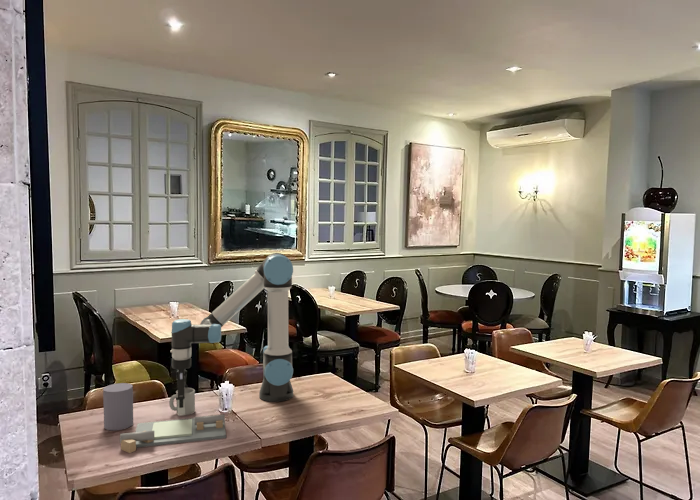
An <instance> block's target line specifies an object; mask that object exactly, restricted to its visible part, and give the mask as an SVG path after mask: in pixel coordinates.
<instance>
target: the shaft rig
mask: <svg viewBox="0 0 700 500" xmlns="http://www.w3.org/2000/svg"><path fill="white" fill-rule="evenodd" d="M225 417H226V415H225V414H216V415H215V414H214V415H203V416H194V417H190V418H180V419H172V420H171V419H170V420H169V419H168V420H159V421H157V420H156V421H149V422H139V423H137V425H136V428H135V432H126V433H125V432H124V433H120V434H119V443H120V450H121V451H124V452H126V453H128V454H131V453H134V452H136V451H137V448H144V447H152V446H161V445H164V446H165V445H172V444H181V443H190V442H192V443H193V442H201V441H210V440H212V441H213V440H220V439H227V434H226V433H227V432H226V426H225V424H226V421H225V420H226V418H225Z"/></svg>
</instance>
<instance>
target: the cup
mask: <svg viewBox="0 0 700 500" xmlns="http://www.w3.org/2000/svg"><path fill="white" fill-rule="evenodd" d="M175 393H176V394H173V395H171V396H170V398H169V401H168V403H169V405H168V406H169V408H170V410H172V411H174V412H175V411H176V414H177V415H178V400H176V398H177V397H178V389H177V390H176V391H175ZM195 393H196V390H195V389H194V388H192V387H185V394H184V397H185V415H184V416H189V415H192V414H194V413H195V411H196V402H195V401H196V399H195V398H196V394H195ZM174 401H176V402H175V403H176V406H175V405H174Z"/></svg>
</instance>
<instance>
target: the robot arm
mask: <svg viewBox="0 0 700 500" xmlns="http://www.w3.org/2000/svg"><path fill="white" fill-rule="evenodd" d="M293 273H294V265H293V263H292V261H291V259H290V258H289V257H287V255H285V254H283V253H280V252H273V253H271V254H269V255H267V256H266V258H265V259H264V260H263V261H262V262H261V264H259V266H258V267H257V268H256V269H255V270H254V274H252V276H250V277H249V278H248V279H246V281H245V282H243V284H241V285H240V286H238V287H237V289H236V290H235V291H234V292H232V293H231V295H229V296H228V297H227V298H226V299H225V300H224V301H223V302H222V303H221V304H220V305H219V306H217V307H216V308H215V309H214V310H213V311H212V312H211V313H210V314H208V315H207V317H204V318H203V319H202V320H201V322H200V324H192V322H191V319H186V318H185V319H184V318H181V319H175V320H173V321H172V323H171V333H170V334H171V350H170V353H171V357H172V359H171V368H172V369H174V370H177V371H176V384H177V390H178V397H177V398H175V401H176V400H178V414H177V416H186V415H185V397H184V394H185V388H188V384H187V375H188V370H186V369H190V368H191V367H192V358H191V357H192V344H214V343H219V342H221V341H222V327H224V325H226V323H228V322H229V321H230V320H231V319H232V318H233V317H234V316H235V315H237V313H239V312H240V311H241V310H242V309H243V308H244V307H245V306H246V305H247V304H248V303H250V302H251V301H252V300H253V299H254V298H255V297H256V296H257V295H259V294H260V293H261V292H262V291H263V290H264V289H265V290H266V291H267V345H265V346H264V347H262V348H263V351H262V354H263V356H262V357H263V358H262V359H263V361H262V367H263V368H262V369H263V370H262V371H263V373H262V374H263V377H262V379H263V380H262V383H261V386H260V389H259V392H258V393H259V395H258V396H259V398H260V400H262V401H265V402H270V403H272V402H273V403H277V402H278V403H279V402H285V401H288V400H290V399H292V398H293V397H294V387H293V385H292V382H291V379H292V377H293V374H294V368H293V350H292V348H290V346H289V290H291V288H292V287H293Z"/></svg>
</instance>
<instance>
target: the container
mask: <svg viewBox="0 0 700 500" xmlns="http://www.w3.org/2000/svg"><path fill="white" fill-rule="evenodd" d="M133 387H134V386H133V384H131V383H127V382H121V383H112V384H109V385H107V386H104V387H103V389H102V394H103V395H102V396H103V397H102V398H103V428H104V429H105V430H108V431H112V432H113V431H121V430H126V429H128V428H130V427H132V426H133V425H134V390H133Z"/></svg>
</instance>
